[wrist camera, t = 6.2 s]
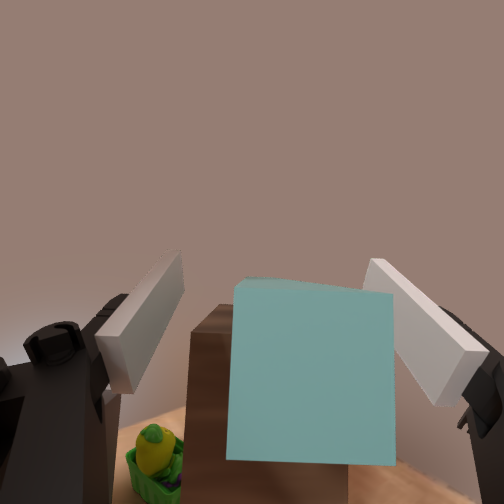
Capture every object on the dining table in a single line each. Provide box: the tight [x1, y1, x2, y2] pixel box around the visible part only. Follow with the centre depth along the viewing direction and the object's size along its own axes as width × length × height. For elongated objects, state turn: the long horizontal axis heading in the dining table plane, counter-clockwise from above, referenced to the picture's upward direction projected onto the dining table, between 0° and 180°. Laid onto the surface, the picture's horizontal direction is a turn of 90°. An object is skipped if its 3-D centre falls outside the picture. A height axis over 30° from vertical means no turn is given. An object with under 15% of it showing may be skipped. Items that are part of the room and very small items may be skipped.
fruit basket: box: [126, 424, 184, 504], centre depth 36 cm, size 11×9×11 cm
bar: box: [226, 277, 396, 466], centre depth 18 cm, size 26×4×4 cm, turn 1°
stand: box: [180, 304, 348, 504], centre depth 20 cm, size 14×10×30 cm
